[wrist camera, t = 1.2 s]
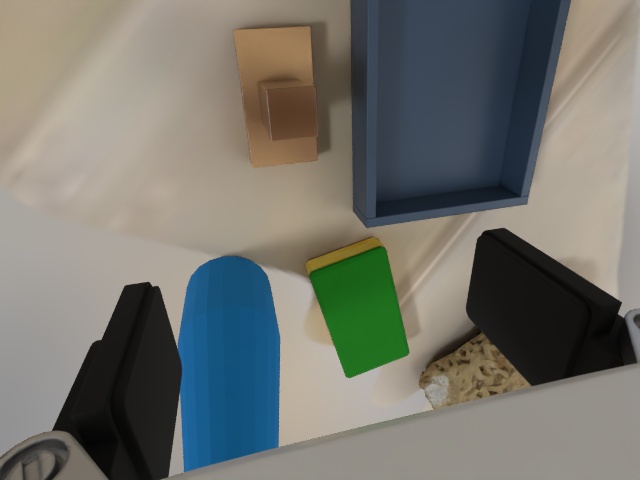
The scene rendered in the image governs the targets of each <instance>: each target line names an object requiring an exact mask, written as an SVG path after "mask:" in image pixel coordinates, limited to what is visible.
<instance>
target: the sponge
mask: <svg viewBox="0 0 640 480" xmlns="http://www.w3.org/2000/svg"><path fill="white" fill-rule="evenodd" d="M419 386H420V388H422V389H424V390H425V396H426V397H427V398H428V400H429V402H430V403H431V405H432V407H433V409H438V408H442V407H447V406H451V405H455V404H459V403H464V402H468V401H472V400H476V399H480V398H485V397H489V396H493V395H497V394H502V393H506V392H510V391H515V390H519V389H523V388H528V387H532V386H531V385H530V384H529V383H528V382H527V381H526V380H525V378H524V377H523V376H522V375H521V374H520V373H519V372H518V371H517V370H516V369H515V367H514V366H513V365H512V364H511V363H510V362H509V361H508V360H507V359H506V358H505V357H504V355H503V354H502V353H501V352H500V351H499V350H498V349H497V348H496V347H495V346H494V344H493V343H492V342H491V341H490V340H489V339H488V338H487V337H486V336H485V335H484V334H483V332H481V333H480V334H479V335H478V336H476V337H475V338H473V339H471V340H470V341H468V342H467V343H465V344H464V345H462V346H461V347H460V348H459V349H457V350H456V351H455V352H453V353H452V354H449V355H447V356H445V357H443V358H441V359H439V360H438V361H436V362H433V363H431V364H430V365H429V367H428V368H427V369H426V370H425V372H422V374H421V376H420V381H419Z"/></svg>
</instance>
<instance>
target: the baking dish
mask: <svg viewBox="0 0 640 480" xmlns="http://www.w3.org/2000/svg"><path fill="white" fill-rule="evenodd" d="M570 3H571V0H351V69H352V151H353V212H354V213H355V214H356V215H357V217H358V218H359V219H360V220H361V222H362V223H363V224H364V225H365V227H366V228H369V227H376V226H383V225H390V224H397V223H403V222H410V221H417V220H424V219H430V218H437V217H444V216H451V215H458V214H464V213H471V212H478V211H485V210H491V209H498V208H505V207H512V206H519V205H525V204H527V201H528V197H529V196H528V195H529V192H530V187H531V183H532V178H533V173H534V169H535V164H536V160H537V155H538V150H539V146H540V141H541V137H542V132H543V127H544V123H545V118H546V113H547V109H548V104H549V100H550V95H551V90H552V86H553V81H554V76H555V72H556V67H557V63H558V58H559V53H560V49H561V44H562V40H563V35H564V30H565V26H566V21H567V16H568V12H569V7H570Z"/></svg>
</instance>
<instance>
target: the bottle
mask: <svg viewBox="0 0 640 480" xmlns="http://www.w3.org/2000/svg"><path fill="white" fill-rule="evenodd" d="M178 352H179V356H180V359H181V364H182V379H181V386H180V396H181V418H182V438H183V459H184V472H187V471H190V470H194V469H197V468H201V467H204V466H208V465H212V464H216V463H220V462H224V461H227V460H231V459H235V458H239V457H243V456H246V455H250V454H254V453H258V452H262V451H266V450H269V449H273V448H277V447H278V442H279V440H278V439H279V377H280V334H279V329H278V324H277V318H276V314H275V308H274V302H273V297H272V292H271V287H270V283H269V280H268V277H267V275H266V273H265V272H264V271H263V270H262V268H261V267H260V266H258V265H257V264H255V263H254V262H252V261H250V260H248V259H244V258H241V257H220V258H216V259H213V260H210V261H208V262H207V263H205V264H203V265H202V266H200V267H199V268H198V269H197V270H196V271H195V273H194V274H193V275H192V276H191V278H190V281H189V284H188V286H187V291H186V297H185V303H184V309H183V315H182V321H181V327H180V334H179V339H178Z"/></svg>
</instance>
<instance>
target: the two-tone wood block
mask: <svg viewBox="0 0 640 480" xmlns="http://www.w3.org/2000/svg"><path fill="white" fill-rule="evenodd" d="M233 34H234V41H235V49H236V56H237V63H238V70H239V77H240V85H241V92H242V99H243V106H244V113H245V121H246V128H247V135H248V142H249V150H250V157H251V163H252V167H253V168H255V167H264V166H273V165H282V164H291V163H300V162H309V161H317V160H318V154H317V137H318V118H317V99H316V86H315V85H314V82H313V64H312V46H311V28H310V26H302V27H281V28H261V29H241V30H234V31H233Z"/></svg>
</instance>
